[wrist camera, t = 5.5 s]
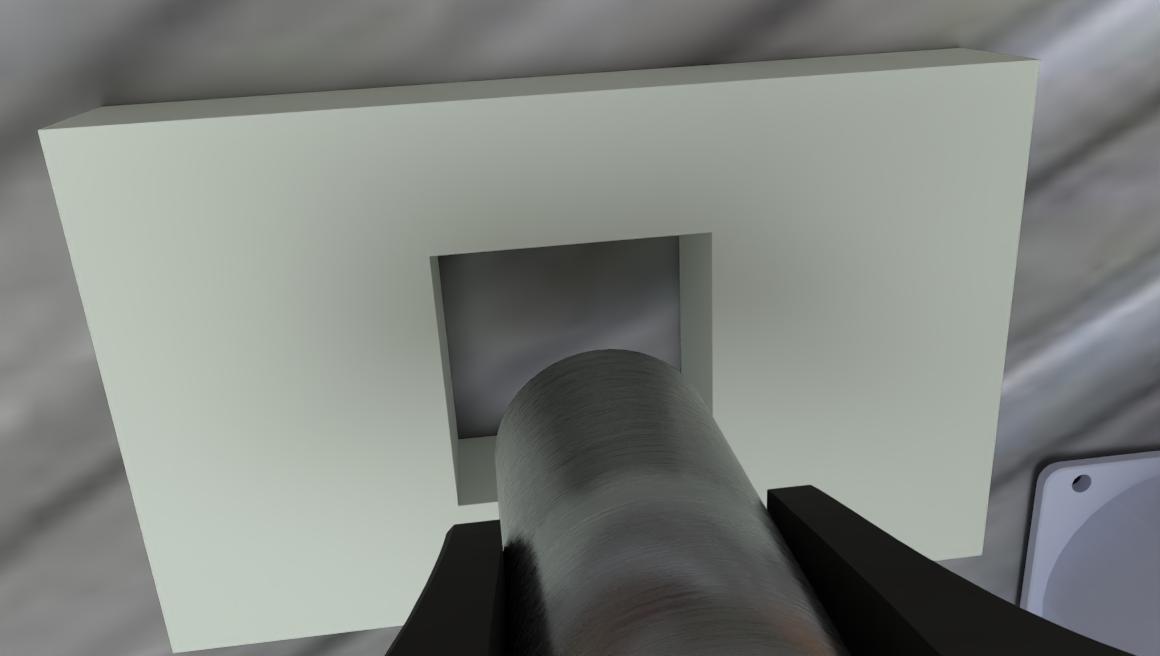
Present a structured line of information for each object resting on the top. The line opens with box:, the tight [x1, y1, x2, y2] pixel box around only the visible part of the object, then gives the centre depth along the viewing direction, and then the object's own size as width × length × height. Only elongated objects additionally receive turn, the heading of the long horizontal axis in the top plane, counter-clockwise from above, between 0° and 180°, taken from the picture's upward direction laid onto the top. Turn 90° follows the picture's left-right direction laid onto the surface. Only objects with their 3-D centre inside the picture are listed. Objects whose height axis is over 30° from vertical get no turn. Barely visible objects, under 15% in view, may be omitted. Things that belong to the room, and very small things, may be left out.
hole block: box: [38, 48, 1040, 653], centre depth 20 cm, size 18×11×3 cm, turn 93°
